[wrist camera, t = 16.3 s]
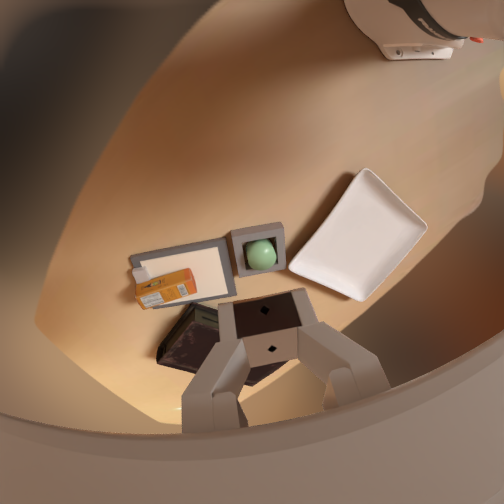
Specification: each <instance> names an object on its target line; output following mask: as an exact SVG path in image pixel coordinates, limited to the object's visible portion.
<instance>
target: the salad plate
mask: <svg viewBox="0 0 504 504" xmlns="http://www.w3.org/2000/svg"><path fill="white" fill-rule="evenodd" d="M427 229H428V226H427V224H426V223H425V222H424V221H423V220H422V219H421V218H420V217H419V216H418V215H417V214H416V213H415V212H414V211H413V210H412V209H410V208H409V207H408V206H407V205H406V204H405V203H404V202H403V201H402V200H401V199H400V198H399V197H398V196H397V195H396V194H395V193H394V192H393V191H392V190H391V189H390V188H389V187H388V186H387V185H386V184H385V183H384V182H383V181H382V180H381V179H380V178H379V177H378V176H377V175H376V174H375V173H373V172H372V171H371V170H370V169H368V168H363V169H361V170H360V171H359V172H358V173H357V174H356V176H355V177H354V178H353V180H352V182H351V183H350V185H349V186H348V188H347V189H346V191H345V192H344V194H343V195H342V197H341V198H340V200H339V201H338V203H337V204H336V206H335V207H334V208H333V210H332V211H331V213H330V214H329V215H328V217H327V218H326V219H325V220H324V222H323V223H322V224H321V225H320V227H319V228H318V229H317V230H316V232H315V233H314V234H313V235H312V236H311V238H310V239H309V240H308V241H307V242H306V244H305V245H304V246H303V247H302V248H301V249H300V250H299V251H298V253H297V254H296V255H295V256H294V257H293V259H292V260H291V261H290V263H289V265H288V269H289V270H290V271H291V272H293V273H295V274H298V275H300V276H302V277H305V278H307V279H309V280H312V281H314V282H316V283H319V284H321V285H324V286H326V287H328V288H331V289H333V290H335V291H337V292H339V293H341V294H344V295H346V296H348V297H350V298H352V299H354V300H356V301H365V300H366V299H367V298H368V297H369V296H370V295H371V294H372V293H373V292H374V291H375V290H376V289H377V288H378V287H379V285H380V284H381V283H382V282H383V281H384V280H385V279H386V278H387V277H388V276H389V275H390V273H391V272H392V271H393V270H394V269H395V268H396V267H397V266H398V264H399V263H400V262H401V261H402V260H403V259H404V258H405V256H406V255H407V254H408V253H409V252H410V250H411V249H412V248H413V247H414V246H415V244H416V243H417V242H418V241H419V239H420V238H421V237H422V236H423V234H424V233H425V232H426V230H427Z"/></svg>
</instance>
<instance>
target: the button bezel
mask: <svg viewBox="0 0 504 504" xmlns="http://www.w3.org/2000/svg"><path fill="white" fill-rule="evenodd" d="M231 235H232V241H233V246H234V252H235V257H236V263H237V268H238V273H239V278H240V277H246V276H251V275H256V274H262V273H267V272H272V271H277V270H283V269H286V253H285V236H284V227H283V225H282V223H281V222H276V223H270V224H264V225H258V226H253V227H247V228H241V229H236V230H231ZM271 237H274V242H275V253H276V261H275V263H274V265H273V266H272V267H270V268H269V269H266V270H262V271H259V270H255V269H253V268H252V267H251V266H250V265H249V263H248V262H247V263H245V261H244V255H243V249H242V243H243V242H248V241H254V240H259V239H265V238H271Z"/></svg>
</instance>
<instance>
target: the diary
mask: <svg viewBox="0 0 504 504" xmlns="http://www.w3.org/2000/svg"><path fill="white" fill-rule="evenodd" d="M218 342H220V334H219V320H218V310H216V309H213V308H210V307H207V306H204V305H201V304H198V303H195V302H192V304H191V305H190V306H189V308H188V309H187V310H186V312H185V313H184V314H183V315H182V317H181V318H180V319H179V321H178V322H177V323H176V325H175V326H174V327H173V329H172V330H171V331H170V333H169V334H168V335H167V337H166V338H165V339H164V340H163V342H162V343H161V344H160V346H159V347H158V350H157V355H156V361H157V364H159V365H163V366H167V367H171V368H175V369H179V370H183V371H187V372H190V373H194V374H196V373H197V371H198V370H199V368H200V367H201V365H202V364H203V362H204V361H205V359H206V357H207V356H208V354H209V353H210V351H211V350H212V348H213V346H214V345H215V343H218ZM288 361H289V360H287V361H282V362H276V363H271V364H267V365H262V366H257V367H252V368H250V369H251V370H250V372H249V374H248V377H247V379H246V381H245V383H244V385H248V386H254V385H255V384H257V383H258V382H259V381H261V380H262V379H264V378H265V377H267V376H269V375H270V374H272V373H273V372H275V371H276V370H277V369H279V368H280V367H281V366H283V365H284V364H285V363H286V362H288Z"/></svg>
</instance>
